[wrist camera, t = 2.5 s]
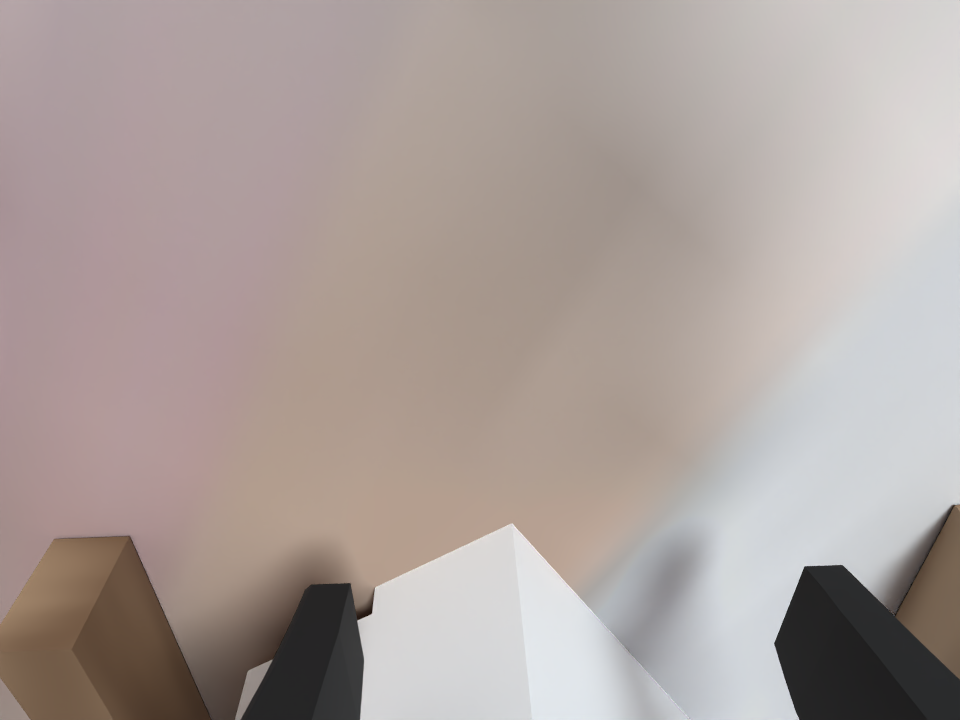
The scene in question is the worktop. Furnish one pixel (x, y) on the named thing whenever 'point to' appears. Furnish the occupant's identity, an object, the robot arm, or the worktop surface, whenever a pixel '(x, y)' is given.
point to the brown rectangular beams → (162, 669)
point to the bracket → (493, 645)
